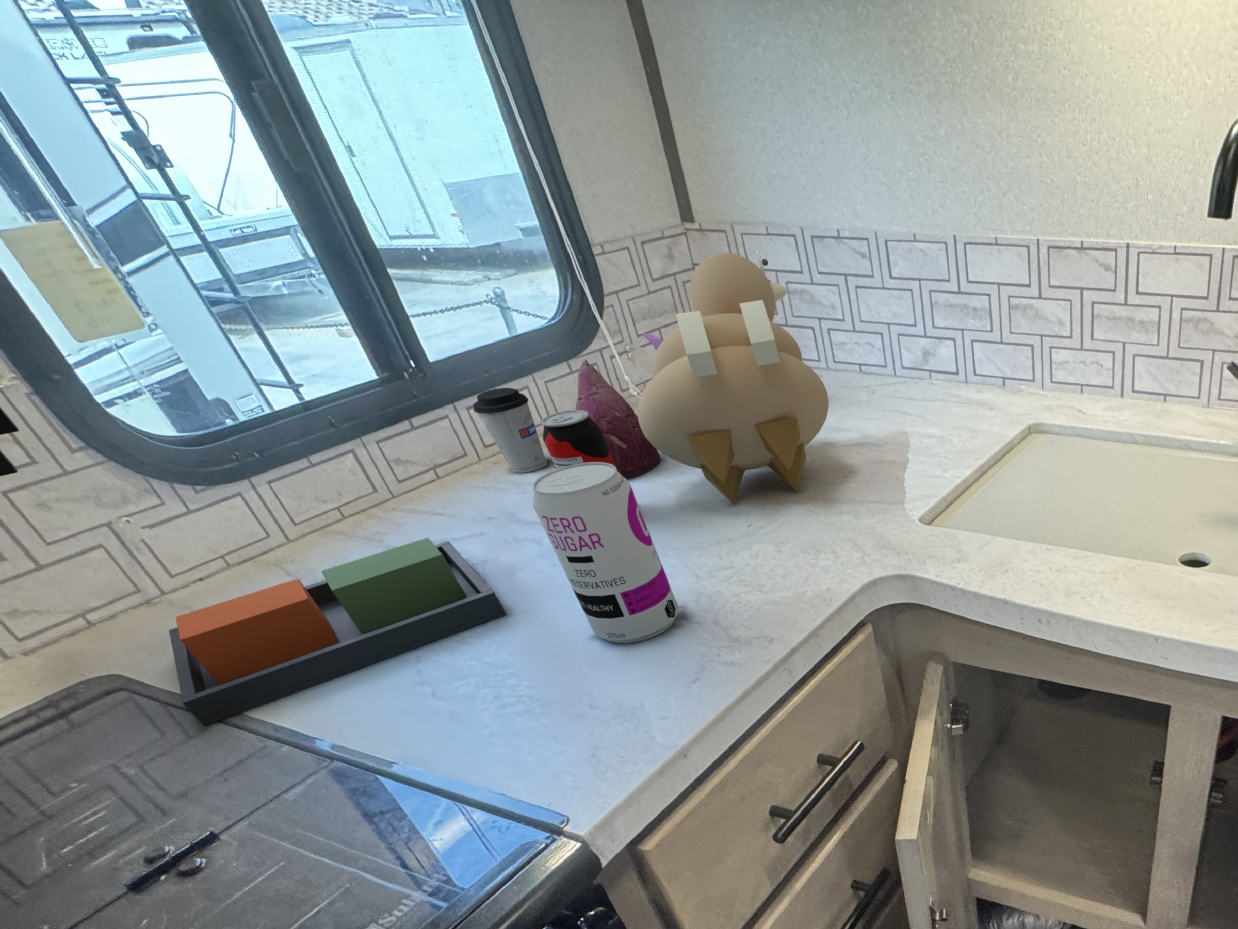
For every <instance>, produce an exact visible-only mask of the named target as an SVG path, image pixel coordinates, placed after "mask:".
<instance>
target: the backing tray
mask: <svg viewBox="0 0 1238 929" xmlns="http://www.w3.org/2000/svg"><path fill="white" fill-rule="evenodd" d="M434 545H435V546H436V547H437V549H438V550H439V551H440V552H441V553H442V555H443V556H444V558H445V560H446V561H447V563H448V565H449V567H450V568H451V570H452V572H453V573H454V575H455V577H456V579H457V580H458V582H459V584H460V586H461V587H462V589H463V591H464V593H465V594H466V596H467V597H466V598H464V599H461V600H458V601H455V602H452V603H449V604H447V605H444V606H441V607H438V608H435V609H432V610H429V611H427V612H424V613H421V614H418V615H415V616H412V617H410V618H407V619H404V620H401V621H398V622H395V623H393V624H390V625H387V626H384V627H381V628H378V629H376V630H373V631H370V632H367V633H364V634H362V633H361V632H360V631H359V629H358V628H357V626H356V625H355V623H354V622H353V621H352V619H351V618H350V616H349V615H348V613H347V612H346V610H345V609H344V608H343V606H342V605H341V603H340V602H339V600H338V599H337V597H336V596H335V595H334V593H333V592H332V590H331V588H330V587H329V585H328V583H327V581H326V579H324V580H320V581H318V582H315V583H312V584H308V585H306V586H304V587H305V589H306V590H307V591H308V593H309V594H310V596H311V597H312V598H313V600H314V601H315V603H316V604H317V605H318V607H319V608H320V610H321V611H322V612H323V614H324V615H325V617H326V618H327V619H328V621H329V622H330V624H331V626H332V628H333V630H334V632H335V634H336V636H337V638H338V640H339V643H337V644H334V645H331V646H329V647H326V648H323V649H320V650H317V651H314V652H312V653H309V654H306V655H303V656H300V657H297V658H294V659H292V660H289V661H286V662H283V663H280V664H277V665H275V666H272V667H269V668H266V669H263V670H260V671H258V672H255V673H252V674H249V675H246V676H243V677H241V678H238V679H235V680H232V681H229V682H226V683H223V684H221V685H219V684H218V683H217V682H216V681H215V680H214V678H213V677H212V676H211V675H210V674H209V673H208V672H207V670H206V669H205V668H204V667H203V666H202V665H201V663H200V662H199V661H198V660H197V659H196V658H195V657H194V655H193V654H192V653H191V652H190V651H189V650H188V648H187V647H186V646H185V645H184V644H183V643H182V642H181V640H180V636H179V631H178V626H176V627H173V628H171V629H168V633H169V638H170V643H171V648H172V653H173V659H174V664H175V669H176V670H175V671H176V674H177V679H178V680H177V681H178V685H179V691H180V696H181V703H182V704H183V706H184V707H185V708H186V709H187V710H188V711H189V713H191V714H192V715H193V716H194V717H195V719H196V720H197V721H198V722H199V723H200V724H201V725H202V726H203V727H205V726H209V725H211V724H213V723H216V722H219V721H221V720H225V719H227V718H231V717H233V716H236V715H239V714H241V713H243V712H247V711H249V710H252V709H255V708H256V707H260V706H262V705H265V704H268V703H270V702H273V701H276V700H278V699H281V698H284V697H287V696H290V695H293V694H295V693H298V692H300V691H303V690H305V689H308V688H312V687H314V686H317V685H320V684H322V683H325V682H328V681H331V680H333V679H335V678H338V677H341V676H344V675H346V674H348V673H351V672H354V671H357V670H361V669H362V668H365V667H368V666H371V665H373V664H376V663H378V662H382V661H384V660H387V659H390V658H392V657H396V656H397V655H400V654H403V653H407V652H409V651H411V650H414V649H418V648H419V647H423V646H425V645H427V644H431V643H433V642H436V641H438V640H439V641H440V640H441V639H444V638H446V637H450V636H452V635H455V634H457V633H460V632H463V631H466V630H468V629H471V628H473V627H476V626H479V625H482V624H484V623H487V622H490V621H493V620H495V619H498V618H501V617H504V616H506V615H507V612H506V611H505V609H504V607H503V605H502V604H501V602H500V600H499V598H498V597H497V595H496V592H495V591H494V590H493V589H492V587H490V586H489V584H488V583H487V582H486V581H485V580H484V579H483V577H481V575H479V573H478V572H477V571H476V570H475V569H474V568H473V567H472V565H470V563H469V562H468V561H467V560H466V559H465V558H464V556H463V555H462V554H461V553H460V552H459V551H458V550H457V549H456V547H455V546H453V545H452V543H451V542H450V541H449V540H447V541H443V542H441V543H437V544H434Z"/></svg>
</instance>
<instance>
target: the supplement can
mask: <svg viewBox="0 0 1238 929" xmlns="http://www.w3.org/2000/svg"><path fill="white" fill-rule="evenodd" d="M532 490H533V500H532V507H533V510H534V512H535V514H536V516H537V518H538V519H539V522H540V524H541V526H542V528H543V530H544V532H545V534H546V536H547V539H548V541H549V543H550V545H551V546H552V549H553V551H554V553H555V555H556V557H557V559H558V561H559V564H560V566H561V568H562V569H563V572H564V574H565V576H566V578H567V580H568V582H569V584H570V586H571V588H572V590H573V593H574V594H575V597H576V598H577V601H578V603H579V604H580V608H581V609H582V612H583V613H584V616H585V618H586V619H587V622H588V624H589V626H590V629H591V630H592V632H593V633H594V634H595V636H597V637H598V638H601V639H605V640H606V641H608V642H611V643H615V644H630V643H638V642H642V641H645V640H648V639H651V638H653V637H655V636H657V635H659V634H662V633H665V631H666V630H667V629H669V628H670V627H671V626H672V625H673V623H674V622H675V620H676V617H677V616H678V614H679V612H680V611H679V605H678V603H677V599H676V597H675V594H674V592H673V590H672V587H671V584H670V582H669V579H668V576H667V574H666V572H665V570H664V566H663V564H662V561H661V559H660V557H659V554H658V551H657V549H656V546H655V543H654V541H653V539H652V536H651V533H650V531H649V528H648V526H647V524H646V521H645V518H644V516H643V513H642V511H641V507H640V506H639V503H638V501H637V497H636V495H635V493H634V491H633V488H632V485H631V483H630V481H629V480H628V479H625V478H624V477H623V476H622V475H621V474H620V473H619V472H618V471H617V469H616V467H615V466H613V465H612V464H608V463H603V462H588V463H580V464H574V465H570V466H566V467H562V468H559V469H556V468H555V469H554V470H550V471H548V472H546V473H544V474H543V475H540V476H539V477H538V478H537V479H535V480H534V481H533V482H532Z"/></svg>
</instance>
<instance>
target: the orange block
mask: <svg viewBox="0 0 1238 929" xmlns="http://www.w3.org/2000/svg"><path fill="white" fill-rule="evenodd" d="M175 620H176V627H178V631H179V636H180V640H181V642H182V643H183V644H184V645H185V646H186V647H187V648H188V650H189V651H190V652H191V653H192V654H193V655H194V657H195V658H196V659H197V660H198V661H199V662H200V663H201V665H202V666H203V667H204V668H205V669H206V670H207V672H208V673H209V674H210V675H211V676H212V677H213V678H214V680H215V681H216V682H217V683H218V684H219V685H221V684H223V683H226V682H229V681H232V680H235V679H238V678H241V677H243V676H246V675H249V674H252V673H255V672H258V671H260V670H263V669H266V668H269V667H272V666H275V665H277V664H280V663H283V662H286V661H289V660H292V659H294V658H297V657H300V656H303V655H306V654H309V653H312V652H314V651H317V650H320V649H323V648H326V647H329V646H331V645H334V644H337V643H339V640H338V638H337V636H336V634H335V632H334V630H333V628H332V626H331V624H330V622H329V621H328V619H327V618H326V617H325V615H324V614H323V612H322V611H321V610H320V608H319V607H318V605H317V604H316V603H315V601H314V600H313V598H312V597H311V596H310V594H309V593H308V591H307V590H306V589H305V586H304V584H303V583H302V582H301V580H300V579H299V578H295V579H292V580H288V581H286V582H283V583H280V584H276V585H273V586H270V587H267V588H263V589H261V590H257V591H254V592H251V593H247V594H245V595H241V596H238V597H235V598H232V599H228V600H225V601H222V602H219V603H216V604H212V605H209V606H206V607H203V608H199V609H196V610H193V611H190V612H187V613H184V614H183V613H182V614H181V615H177V616H175Z"/></svg>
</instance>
